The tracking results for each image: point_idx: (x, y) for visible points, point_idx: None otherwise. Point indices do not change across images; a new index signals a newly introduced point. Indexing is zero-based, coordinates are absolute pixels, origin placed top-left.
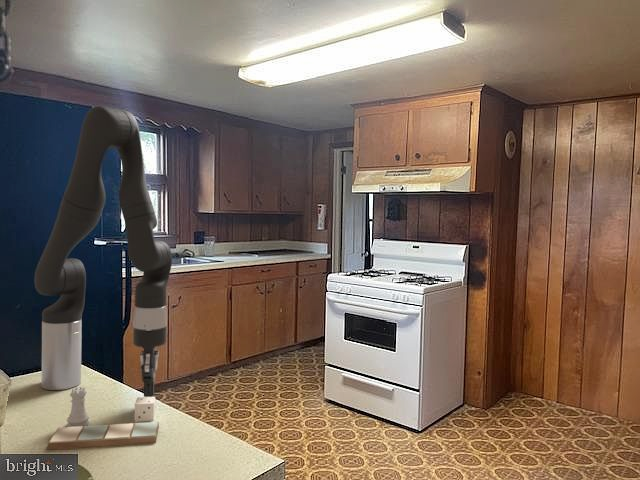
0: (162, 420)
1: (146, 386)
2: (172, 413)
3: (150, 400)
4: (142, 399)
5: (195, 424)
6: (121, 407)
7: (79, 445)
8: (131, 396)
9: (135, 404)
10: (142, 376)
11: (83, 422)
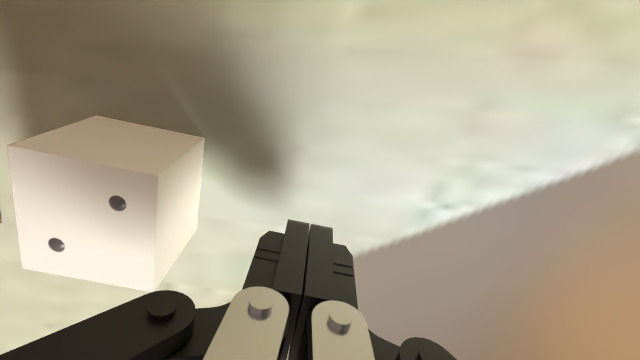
0: None
1: (245, 281)
2: None
3: (79, 255)
4: (107, 208)
5: None
6: (345, 54)
7: None
8: (519, 135)
9: (10, 149)
10: (14, 354)
11: None
